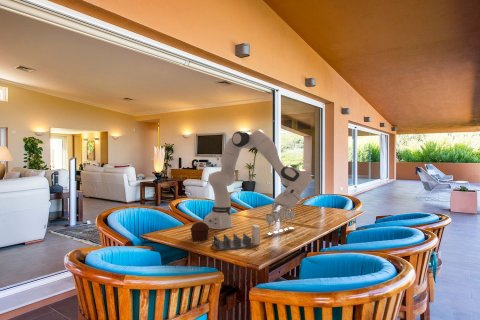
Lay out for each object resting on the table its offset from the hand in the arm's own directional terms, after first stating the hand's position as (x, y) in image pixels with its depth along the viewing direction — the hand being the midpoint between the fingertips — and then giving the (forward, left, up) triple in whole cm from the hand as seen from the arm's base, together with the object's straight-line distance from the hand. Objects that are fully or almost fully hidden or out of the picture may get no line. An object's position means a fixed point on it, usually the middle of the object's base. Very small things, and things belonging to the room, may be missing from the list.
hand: (276, 211), depth 180 cm
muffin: (-44, -8, -18) cm, 49 cm away
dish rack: (-22, -14, -18) cm, 32 cm away
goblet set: (-1, +28, -18) cm, 34 cm away
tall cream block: (-11, -7, -18) cm, 22 cm away
